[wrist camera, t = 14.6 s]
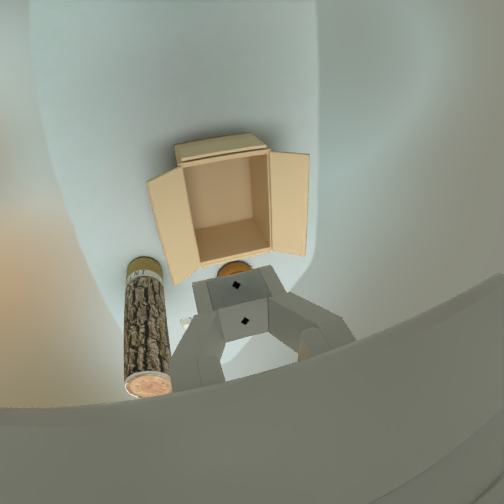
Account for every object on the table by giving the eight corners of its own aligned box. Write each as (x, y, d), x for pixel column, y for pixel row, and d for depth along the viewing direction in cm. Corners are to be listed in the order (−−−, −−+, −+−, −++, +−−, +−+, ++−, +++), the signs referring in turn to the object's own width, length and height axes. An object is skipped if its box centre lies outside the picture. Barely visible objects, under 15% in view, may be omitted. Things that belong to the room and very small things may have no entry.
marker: (201, 353, 74) (183, 315, 64) (208, 355, 74) (191, 317, 64) (197, 362, 72) (179, 324, 62) (205, 363, 72) (187, 326, 62)
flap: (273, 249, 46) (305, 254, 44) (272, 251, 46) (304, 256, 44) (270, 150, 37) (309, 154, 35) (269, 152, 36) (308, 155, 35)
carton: (173, 141, 42) (176, 159, 34) (250, 128, 44) (271, 144, 36) (190, 234, 52) (198, 269, 44) (256, 221, 54) (274, 252, 47)
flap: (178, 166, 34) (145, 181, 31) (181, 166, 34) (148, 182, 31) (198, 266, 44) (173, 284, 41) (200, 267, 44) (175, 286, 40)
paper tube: (168, 265, 55) (185, 381, 35) (150, 289, 56) (160, 402, 37) (138, 249, 51) (138, 368, 31) (120, 274, 53) (116, 392, 33)
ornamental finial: (254, 282, 63) (220, 293, 62) (248, 254, 59) (211, 266, 58) (266, 308, 57) (229, 320, 56) (261, 281, 52) (220, 294, 51)
